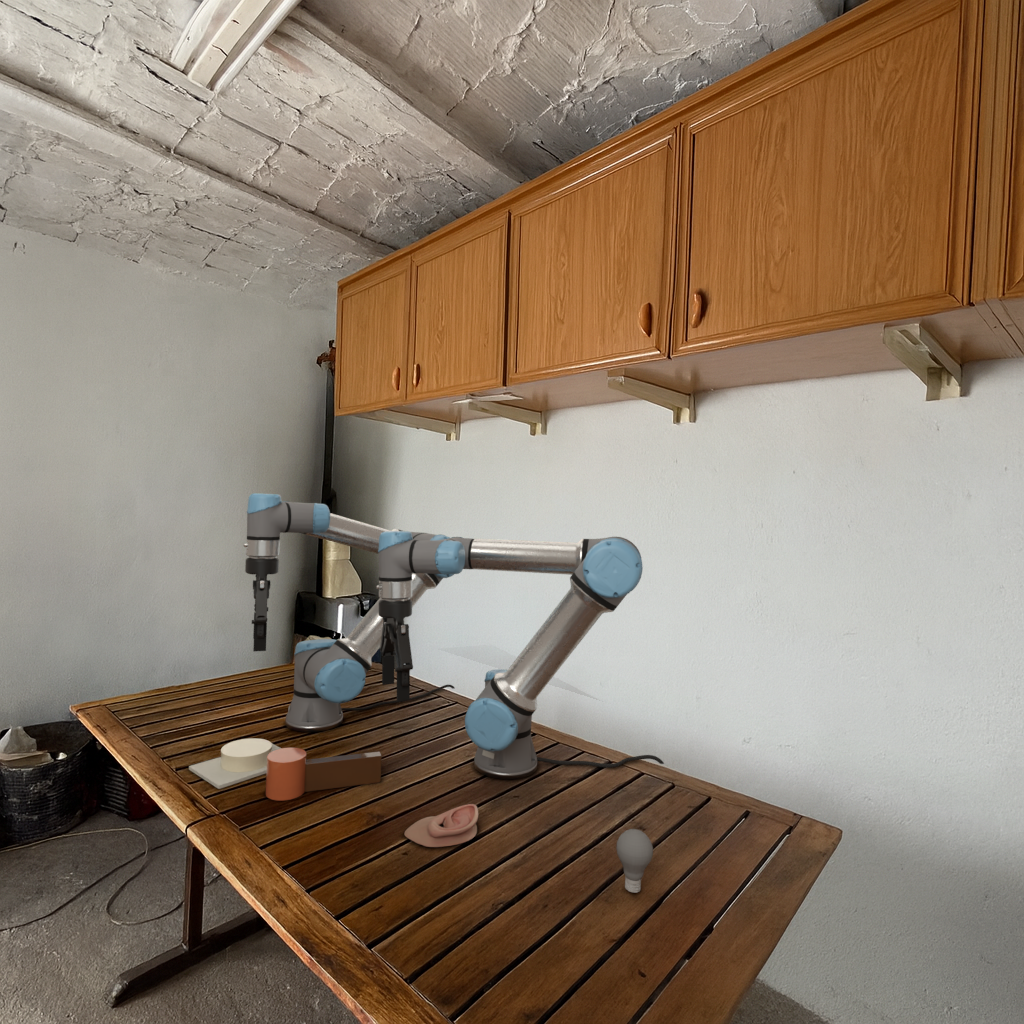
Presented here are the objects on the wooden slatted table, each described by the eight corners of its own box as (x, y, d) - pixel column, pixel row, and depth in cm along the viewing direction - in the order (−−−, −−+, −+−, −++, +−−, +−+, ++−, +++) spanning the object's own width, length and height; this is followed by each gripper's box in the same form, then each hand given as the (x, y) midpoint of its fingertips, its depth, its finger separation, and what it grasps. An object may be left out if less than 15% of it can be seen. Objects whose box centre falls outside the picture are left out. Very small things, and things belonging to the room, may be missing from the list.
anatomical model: (398, 821, 117) (420, 793, 128) (397, 842, 117) (419, 813, 128) (468, 831, 114) (483, 802, 126) (467, 853, 114) (482, 822, 126)
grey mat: (269, 745, 159) (269, 742, 159) (301, 761, 151) (301, 758, 151) (188, 769, 144) (188, 766, 144) (218, 789, 135) (218, 785, 135)
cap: (256, 748, 155) (256, 734, 155) (280, 762, 148) (281, 747, 148) (211, 762, 146) (211, 747, 146) (235, 776, 140) (236, 761, 139)
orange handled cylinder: (265, 803, 130) (267, 764, 130) (265, 786, 137) (266, 749, 137) (382, 787, 139) (384, 751, 139) (376, 772, 147) (377, 738, 146)
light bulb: (610, 879, 108) (613, 822, 108) (644, 879, 109) (647, 822, 109) (619, 902, 102) (622, 840, 102) (655, 901, 103) (658, 840, 103)
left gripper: (246, 552, 164) (243, 633, 164) (245, 562, 140) (241, 657, 141) (277, 552, 166) (274, 632, 167) (281, 562, 143) (277, 655, 144)
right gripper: (367, 592, 154) (367, 679, 154) (392, 608, 131) (392, 709, 132) (397, 591, 157) (397, 676, 157) (427, 605, 135) (427, 705, 135)
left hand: (259, 644), depth 154 cm, fingers open, 13 cm apart
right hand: (395, 691), depth 145 cm, fingers open, 13 cm apart
